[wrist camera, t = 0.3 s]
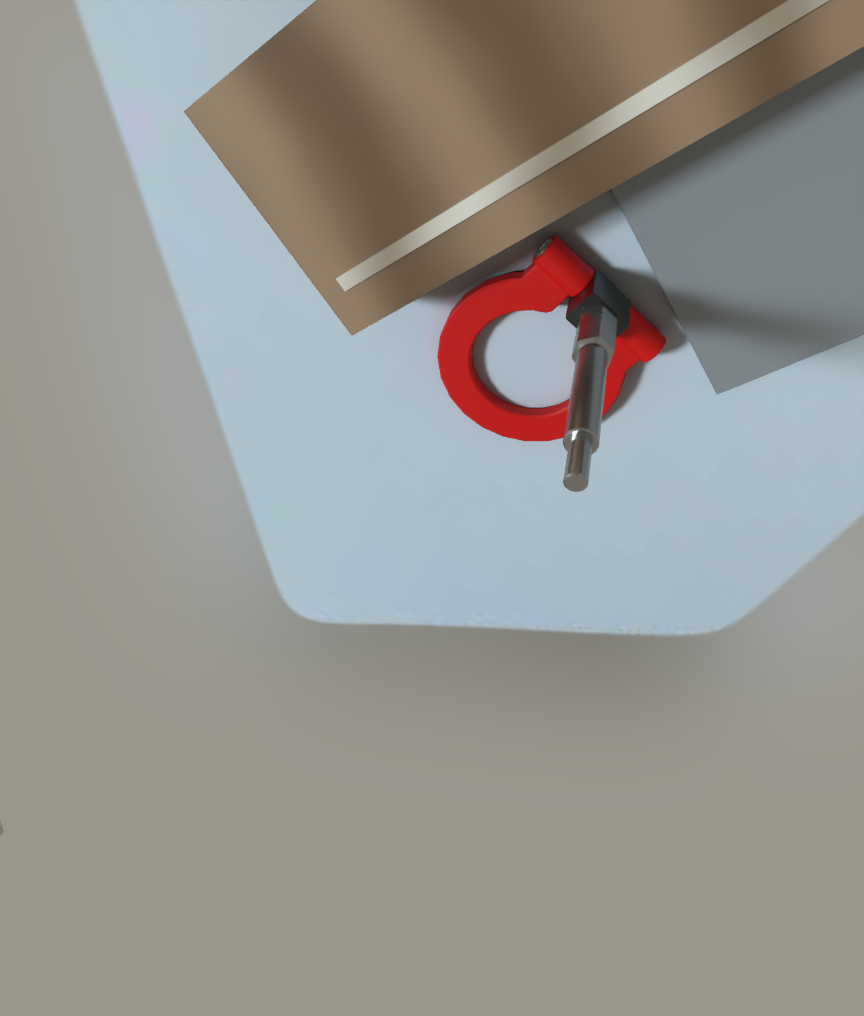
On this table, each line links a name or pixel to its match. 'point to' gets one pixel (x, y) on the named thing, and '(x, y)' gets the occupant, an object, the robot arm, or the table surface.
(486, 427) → the tow hook
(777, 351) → the mat
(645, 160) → the walnut board
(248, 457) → the table surface
